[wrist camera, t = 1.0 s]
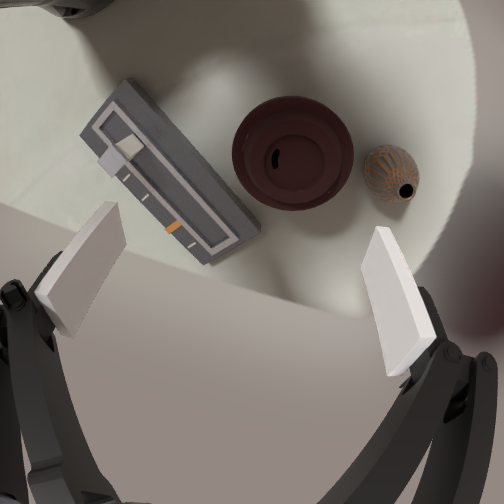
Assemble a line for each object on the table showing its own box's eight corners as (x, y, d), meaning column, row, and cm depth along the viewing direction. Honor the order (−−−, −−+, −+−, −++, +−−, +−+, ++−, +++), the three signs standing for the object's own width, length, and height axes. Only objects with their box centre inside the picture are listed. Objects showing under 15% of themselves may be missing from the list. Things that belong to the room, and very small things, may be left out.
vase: (384, 195, 37) (405, 229, 30) (348, 168, 35) (365, 197, 28) (413, 160, 33) (443, 187, 26) (379, 129, 31) (405, 149, 24)
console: (86, 131, 34) (76, 137, 32) (131, 77, 29) (122, 79, 27) (205, 257, 46) (202, 268, 44) (260, 225, 41) (259, 235, 39)
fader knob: (118, 146, 33) (96, 161, 28) (133, 131, 32) (111, 144, 27) (131, 161, 34) (111, 177, 30) (146, 146, 33) (126, 161, 28)
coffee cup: (344, 122, 31) (383, 162, 19) (292, 175, 36) (299, 241, 24) (282, 70, 28) (285, 72, 16) (232, 129, 33) (203, 172, 21)
